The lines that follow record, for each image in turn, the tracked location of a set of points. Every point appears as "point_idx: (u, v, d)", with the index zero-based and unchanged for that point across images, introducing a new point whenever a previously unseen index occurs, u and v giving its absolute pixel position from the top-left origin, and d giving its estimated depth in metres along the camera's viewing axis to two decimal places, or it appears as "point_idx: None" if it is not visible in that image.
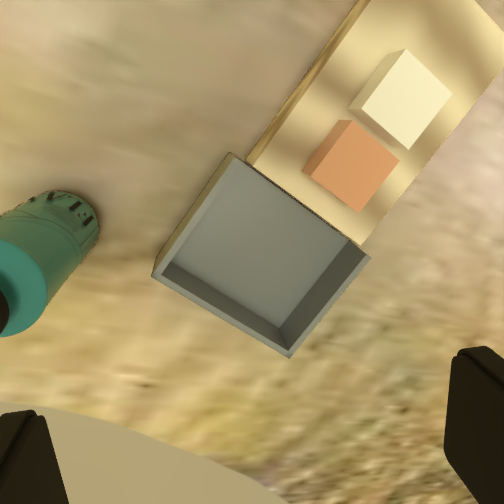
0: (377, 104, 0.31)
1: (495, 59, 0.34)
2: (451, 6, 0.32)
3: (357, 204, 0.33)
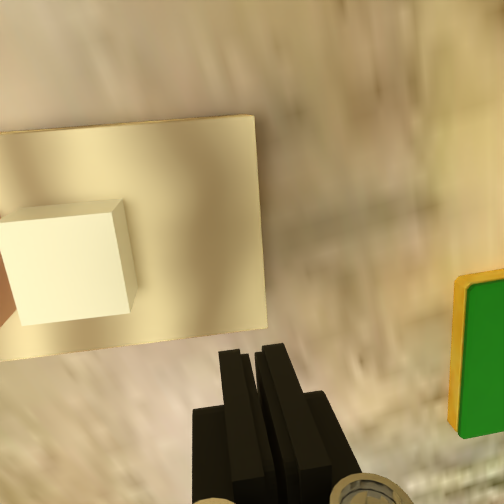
0: (20, 239, 0.18)
1: (236, 316, 0.24)
2: (233, 221, 0.22)
3: None
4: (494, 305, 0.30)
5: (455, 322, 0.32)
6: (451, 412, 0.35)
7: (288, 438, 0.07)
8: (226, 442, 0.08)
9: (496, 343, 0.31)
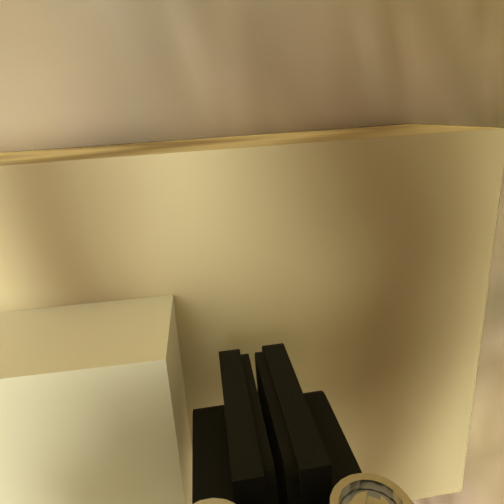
0: None
1: (414, 476, 0.14)
2: (437, 323, 0.12)
3: None
4: None
5: None
6: None
7: (288, 438, 0.07)
8: (226, 442, 0.08)
9: None
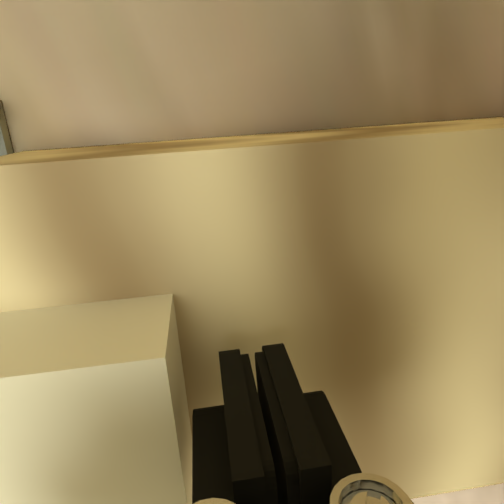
0: None
1: None
2: None
3: None
4: None
5: None
6: None
7: (288, 438, 0.07)
8: (226, 442, 0.08)
9: None
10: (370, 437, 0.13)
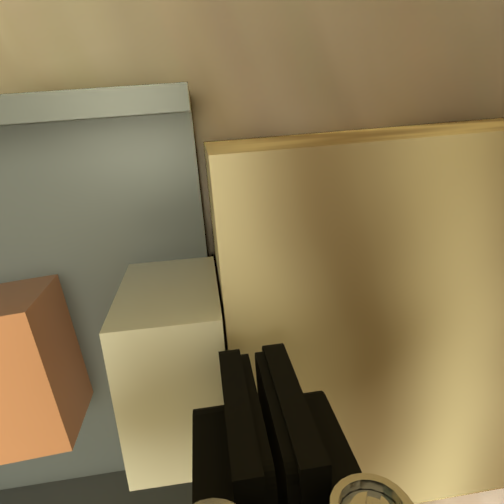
0: None
1: None
2: None
3: None
4: None
5: None
6: None
7: (288, 438, 0.07)
8: (226, 442, 0.08)
9: None
10: None
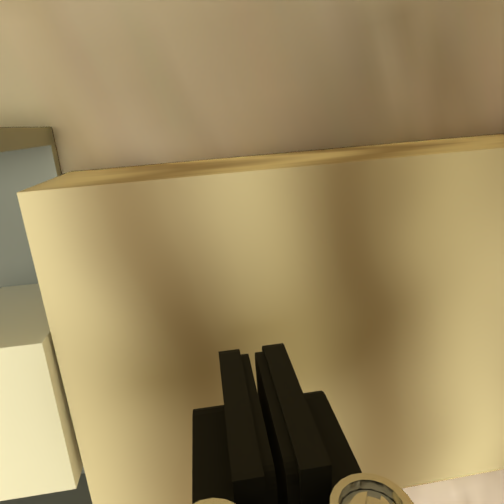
0: None
1: None
2: None
3: None
4: None
5: None
6: None
7: (288, 438, 0.07)
8: (226, 442, 0.08)
9: None
10: (390, 426, 0.14)
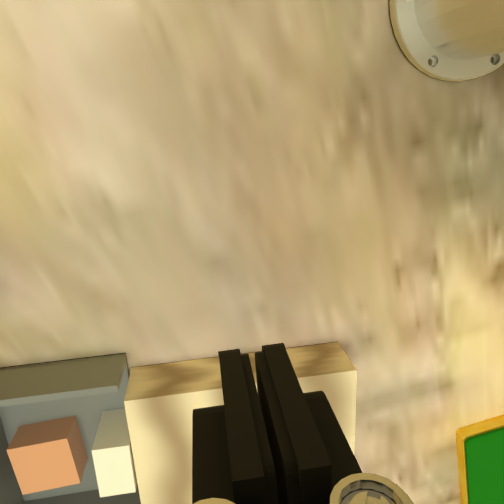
0: None
1: None
2: (340, 422, 0.38)
3: None
4: (483, 449, 0.46)
5: (459, 456, 0.48)
6: None
7: (288, 438, 0.07)
8: (226, 442, 0.08)
9: (487, 470, 0.47)
10: None
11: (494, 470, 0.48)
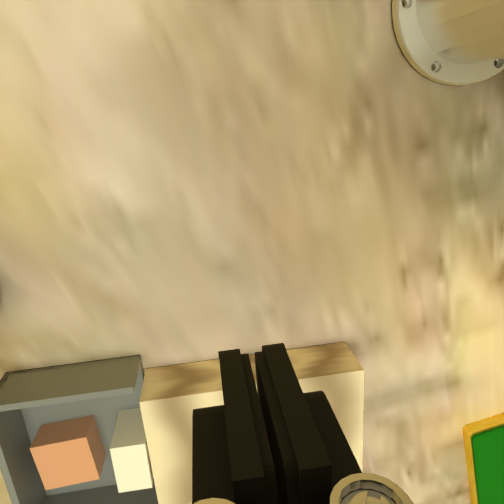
0: None
1: None
2: (348, 420, 0.39)
3: None
4: (490, 445, 0.47)
5: (466, 452, 0.49)
6: None
7: (288, 438, 0.07)
8: (226, 442, 0.08)
9: (495, 465, 0.48)
10: None
11: (502, 465, 0.48)
